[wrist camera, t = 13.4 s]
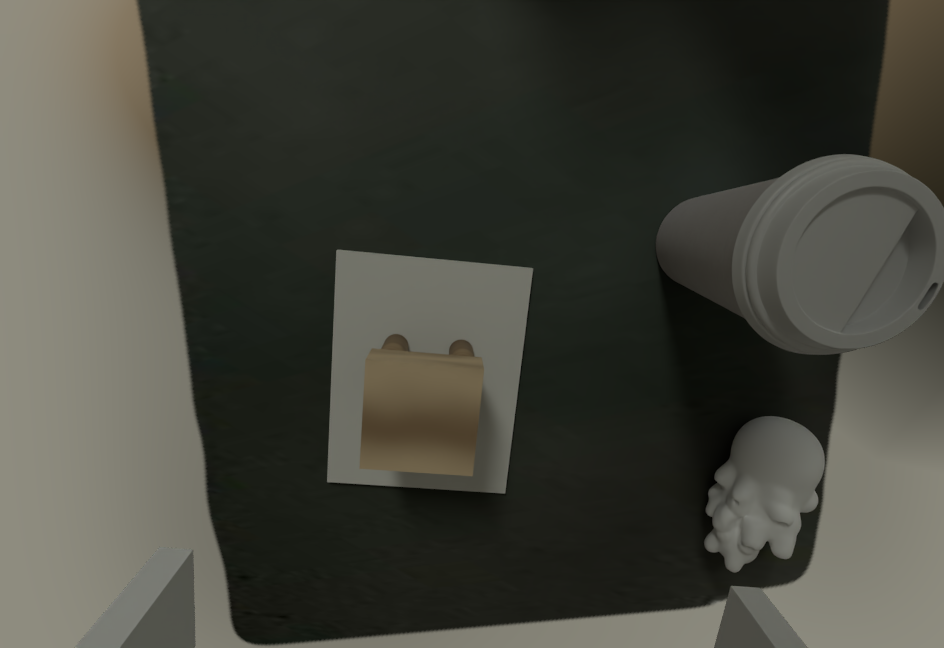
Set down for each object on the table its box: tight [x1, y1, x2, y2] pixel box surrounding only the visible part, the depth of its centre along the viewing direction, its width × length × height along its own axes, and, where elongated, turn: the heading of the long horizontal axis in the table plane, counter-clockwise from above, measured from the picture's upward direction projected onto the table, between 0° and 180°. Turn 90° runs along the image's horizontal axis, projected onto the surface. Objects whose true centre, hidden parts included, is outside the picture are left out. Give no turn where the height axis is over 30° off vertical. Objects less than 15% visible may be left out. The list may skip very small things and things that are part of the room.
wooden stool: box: [359, 334, 484, 476], centre depth 34 cm, size 7×7×8 cm
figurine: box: [704, 416, 825, 572], centre depth 38 cm, size 7×7×12 cm
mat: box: [327, 250, 533, 494], centre depth 38 cm, size 18×14×1 cm
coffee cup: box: [656, 154, 944, 355], centre depth 29 cm, size 10×10×15 cm
